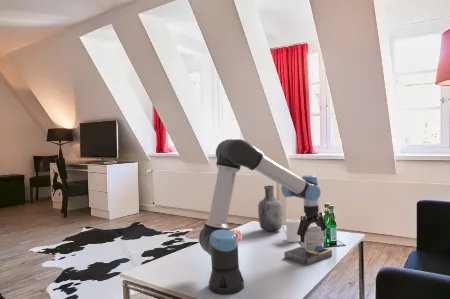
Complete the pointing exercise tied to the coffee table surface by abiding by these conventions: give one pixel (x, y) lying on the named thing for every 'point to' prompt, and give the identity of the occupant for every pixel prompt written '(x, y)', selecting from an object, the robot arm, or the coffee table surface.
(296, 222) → the mug
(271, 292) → the coffee table surface
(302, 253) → the tray
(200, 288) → the coffee table surface
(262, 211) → the vase
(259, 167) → the robot arm
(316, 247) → the ink box
